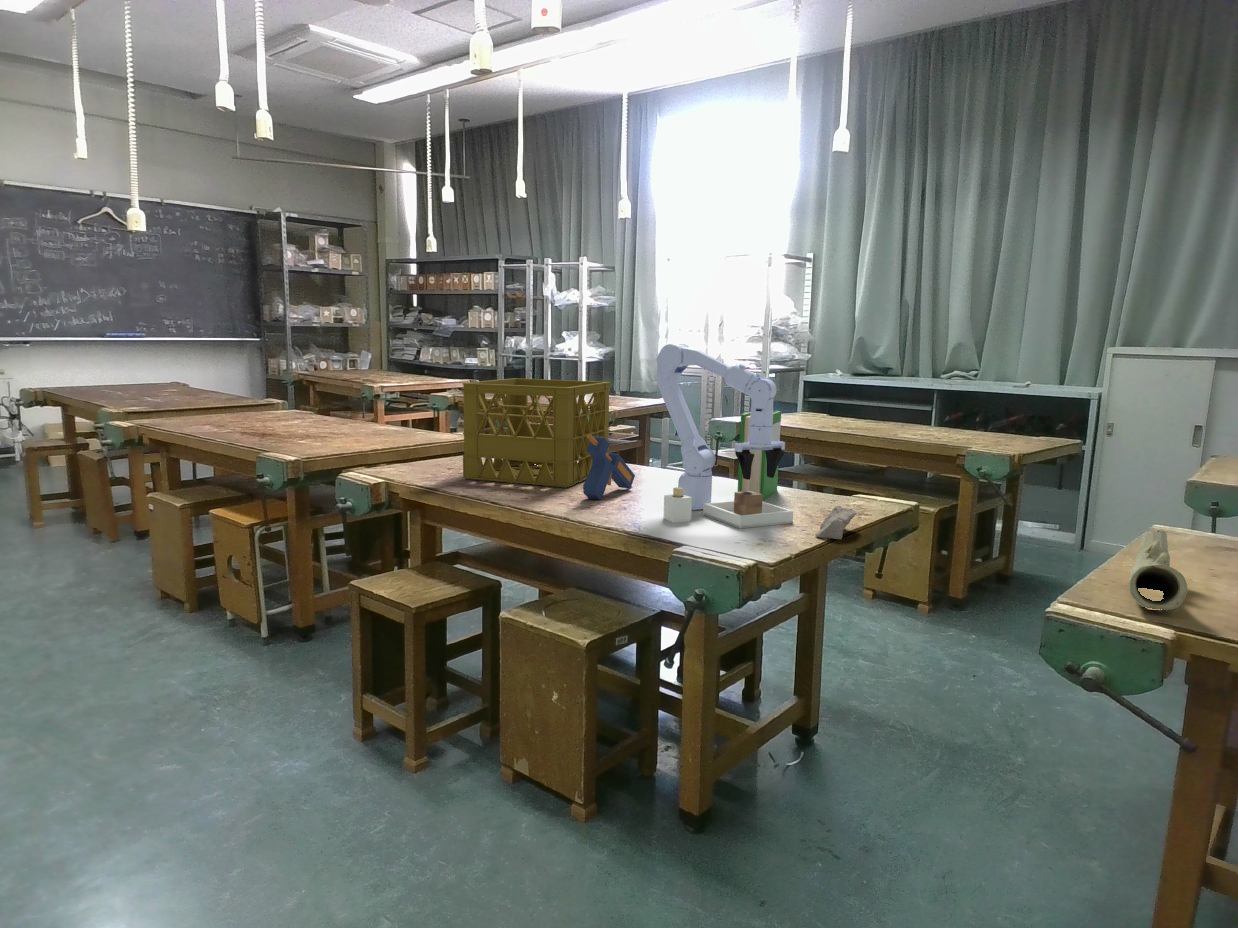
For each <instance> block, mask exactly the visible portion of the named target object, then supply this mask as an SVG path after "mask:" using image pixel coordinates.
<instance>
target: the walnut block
mask: <svg viewBox="0 0 1238 928" xmlns="http://www.w3.org/2000/svg"><path fill="white" fill-rule="evenodd" d="M733 498H734V500H733V501H734V513H735V514H738V515H751V514H761V513H762V498H763V494H760V493H756V492H753V491H742V492H738V491H734V497H733Z"/></svg>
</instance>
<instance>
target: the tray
mask: <svg viewBox="0 0 1238 928" xmlns="http://www.w3.org/2000/svg"><path fill="white" fill-rule="evenodd" d="M702 510H703V511H702V512H703V516H705V517H708V518H711V519H713V520H716V521H719V522H721V523H723V524H726V525H728V526H732V527H734V528H737V529H740V530H741V529H749V528H750V529H751V528H757V527H767V526H777V525H784V524H785V525H786V524H787V525H788V524H792V523H794V521H793V520H794V511H793V510H792V509H788V508H784V507H783V506H778V505H775V504H772V503H769V502H766V501H762V513H761V514H751V515H738V514H735V513H734V500H727V501H726V500H725V501H716V502H715V501H714V502H711V503H704V507H703V509H702Z"/></svg>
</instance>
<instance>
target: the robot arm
mask: <svg viewBox="0 0 1238 928" xmlns="http://www.w3.org/2000/svg"><path fill="white" fill-rule="evenodd" d="M655 359H656V363H657V371H656V384H657V387H658V389H659V392H660V394H661V397H662V399H663V402H664V404H665V405H666V409H667V411H668V413H669V416H670V419H671V420H672V423H673V426H674V429H675V431H676V434H677V436H678V438H679V440H680V454H681V457H682V461H681V463H682V467H683V470H684V471H685V472H683V473H681V475H680V476H679V478H678V482H677V485H678V486H677V487H678V488H683V495H686V496H689V497H692V508H691V511H699V510H703V507H704V503H712V487H713V486H712V484H713V471H712V468H713V467H714V465H715V463H716V454H715V453H714V451H713V450H712V449H711V448H710V447H709V445H708V444H707V442H706V440H705V439H704V438H702V436H700V434H699V430H698V428H697V426H696V423H695V421H694V419H693V417H692V416H693V415H692V414H691V411H690V408H689V407H688V404H687V401H686V399H685V397H684V394H683V392H682V389H681V387H680V385H679V381H680V378H681V377H682V374H683V372H684V371H686V369H687V368H688V367H689V366H698V367H700V368H702V369H703V370H706V371H708V372H710V373H713V374H715V375H717V376H720V377H721V378H723V380H724V383H725V385H727V386H729V387H731V388H733V389H734V390H736V391H739V392H740V393H743V394H744V395H748V396H749V398H750V399H751V400H750V401H751V403H750V405H751V406H750V412H751V414H750V434H749V442H745V443H740V442H738V443H737V442H736V443H734V451H735V453H734V454H735V456H736V458H737V460H738V464H739V463H740V466H741V469H742V474H743V479H747V480H750V477H751V466H752V461H753V458H754V454H751V452H750V451H757V450H765V453H766V459H767V477H771V478H774V475H775V472H776V469H777V466H778V467H779V464H780V462H781V460H782V458H783V457H784V455H785V450H786V442H785V441H781V440H780V441H772V426H773V411H774V397H775V396H776V394H777V392H778V391H777V385H776V383H775V382H774V381H773V380H772V379H771V378H770V377H763V378H762V374H761V373H754V372H752V371H751V370H749V369H746V365H745V364H742V363H741V364H739V365H738V364H733V365H730V366H729V365H727V364H726V363H724V362H722V361H721V360H718V359H717V358H715V357H714V356H711V355H709V354H707V353H705V352H704V351H702V350H699V349H698V348H695V347H694V346H693V347H691V346H689V345H687V344H684V343H683V344H681V343H680V344H673V343H669V344H665V345H664V346H662V348H661V349H660V351H659V353H658V355H657V356H656V358H655ZM766 447H767V448H766ZM751 448H752V449H751Z"/></svg>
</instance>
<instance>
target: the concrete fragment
mask: <svg viewBox="0 0 1238 928" xmlns="http://www.w3.org/2000/svg"><path fill="white" fill-rule="evenodd" d="M857 514H858V512H857V511H856V510H854V509H853V508H846V507H843V506H841V505H837V506H834V507H833V508H832V509H831V510H830V512H829V513H828V514H827V515H826V516H825V517H824V520H823V521H822V523H821V525H820V528H819V530H818V531H817V532H816V533H815V534H814V535H815V537H817V538H821V539H824V540H825V539H826V540H828V539H833V540H842V538H843V533H844V530H845V528H846V527H847V526H848V525H849V524H850V523H851V521H852V520H853V519H854V518H855V516H857Z"/></svg>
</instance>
